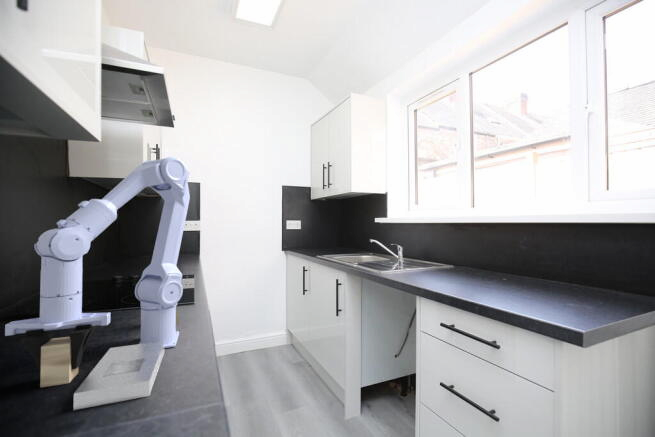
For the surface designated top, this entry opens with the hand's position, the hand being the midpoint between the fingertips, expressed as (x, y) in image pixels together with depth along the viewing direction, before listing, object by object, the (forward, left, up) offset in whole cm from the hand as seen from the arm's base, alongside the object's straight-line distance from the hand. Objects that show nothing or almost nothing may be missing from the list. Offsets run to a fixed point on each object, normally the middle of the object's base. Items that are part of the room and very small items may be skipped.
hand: (60, 369), depth 54 cm
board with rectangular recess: (+3, +11, -2) cm, 12 cm away
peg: (0, 0, -2) cm, 2 cm away
